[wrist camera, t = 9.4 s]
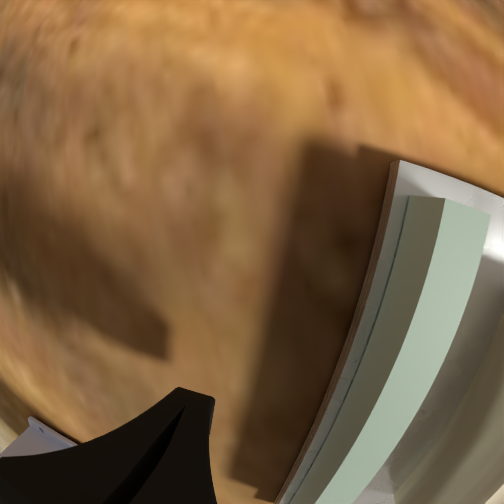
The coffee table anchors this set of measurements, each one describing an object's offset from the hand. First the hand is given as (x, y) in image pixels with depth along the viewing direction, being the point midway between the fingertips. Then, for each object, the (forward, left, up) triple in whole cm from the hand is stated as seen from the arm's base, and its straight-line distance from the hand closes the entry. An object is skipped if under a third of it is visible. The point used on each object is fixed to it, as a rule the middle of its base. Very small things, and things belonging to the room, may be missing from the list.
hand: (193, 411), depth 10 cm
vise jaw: (+6, 0, -1) cm, 6 cm away
